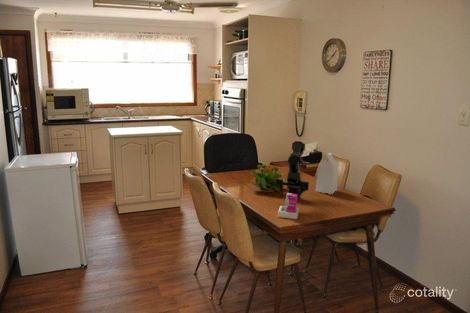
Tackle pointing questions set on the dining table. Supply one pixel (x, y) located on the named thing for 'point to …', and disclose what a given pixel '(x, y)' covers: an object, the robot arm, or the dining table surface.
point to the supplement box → (290, 202)
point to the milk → (327, 176)
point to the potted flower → (266, 178)
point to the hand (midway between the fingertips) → (290, 197)
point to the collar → (287, 213)
